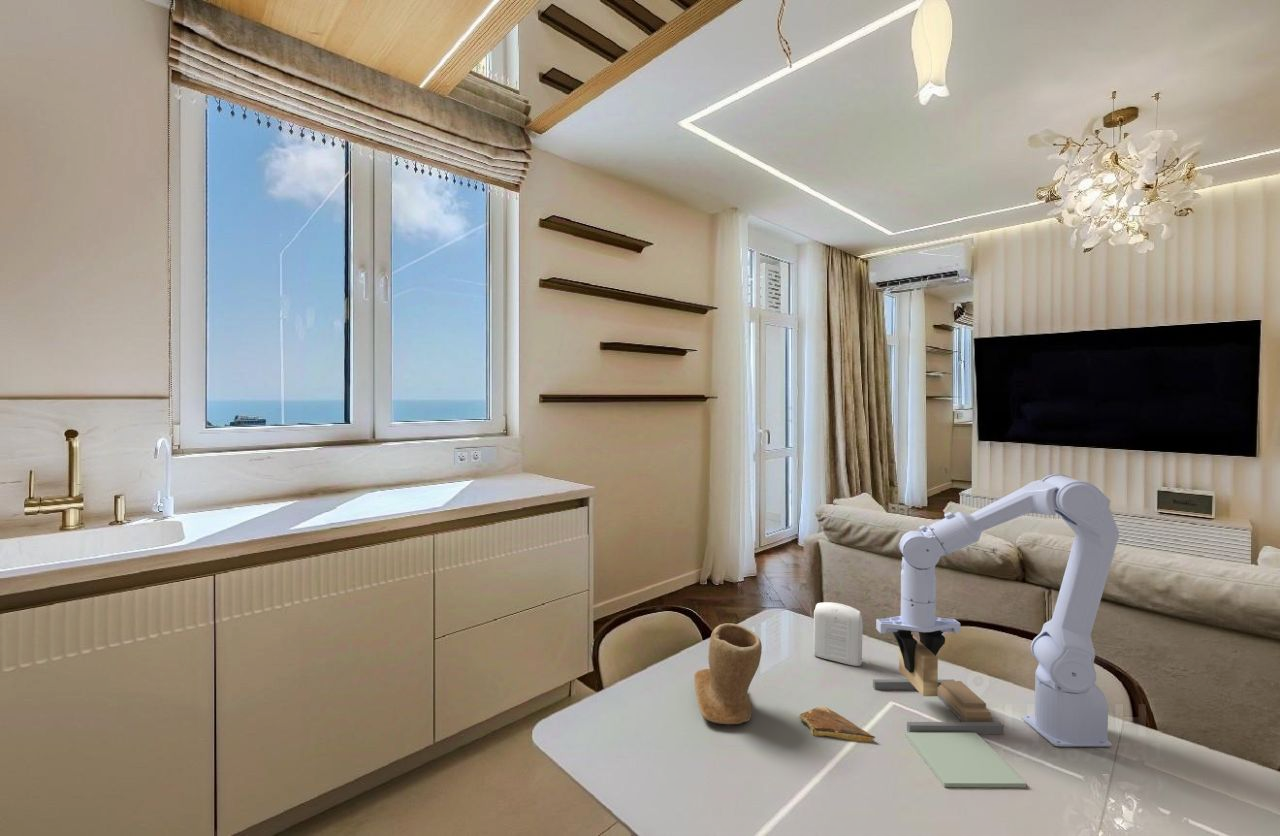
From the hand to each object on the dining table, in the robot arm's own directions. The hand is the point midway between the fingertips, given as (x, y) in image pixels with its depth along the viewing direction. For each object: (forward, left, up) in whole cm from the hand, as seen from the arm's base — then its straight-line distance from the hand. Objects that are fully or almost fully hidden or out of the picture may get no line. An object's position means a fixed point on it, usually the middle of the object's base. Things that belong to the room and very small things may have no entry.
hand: (917, 670), depth 98 cm
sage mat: (0, +14, -7) cm, 16 cm away
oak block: (0, 0, -2) cm, 2 cm away
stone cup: (+35, -1, -8) cm, 36 cm away
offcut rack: (-3, 0, -7) cm, 8 cm away
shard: (+17, +5, -8) cm, 19 cm away
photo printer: (+8, -19, -8) cm, 22 cm away
